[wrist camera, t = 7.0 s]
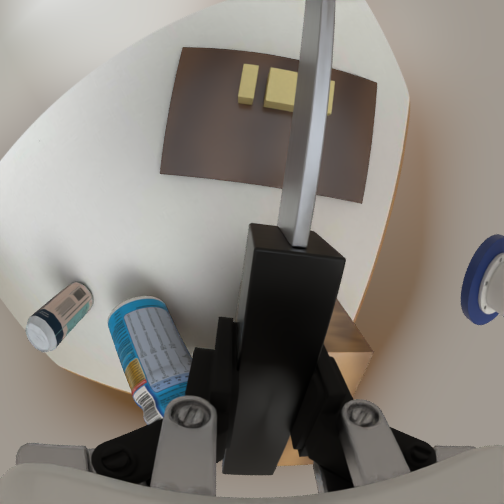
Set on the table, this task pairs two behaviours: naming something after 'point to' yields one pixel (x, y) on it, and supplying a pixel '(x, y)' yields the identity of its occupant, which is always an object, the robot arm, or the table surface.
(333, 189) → the board
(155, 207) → the table surface
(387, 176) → the table surface
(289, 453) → the bread box
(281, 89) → the butter stick
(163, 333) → the blue jar
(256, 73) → the butter slice
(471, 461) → the robot arm
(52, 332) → the beige cylinder
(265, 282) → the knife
